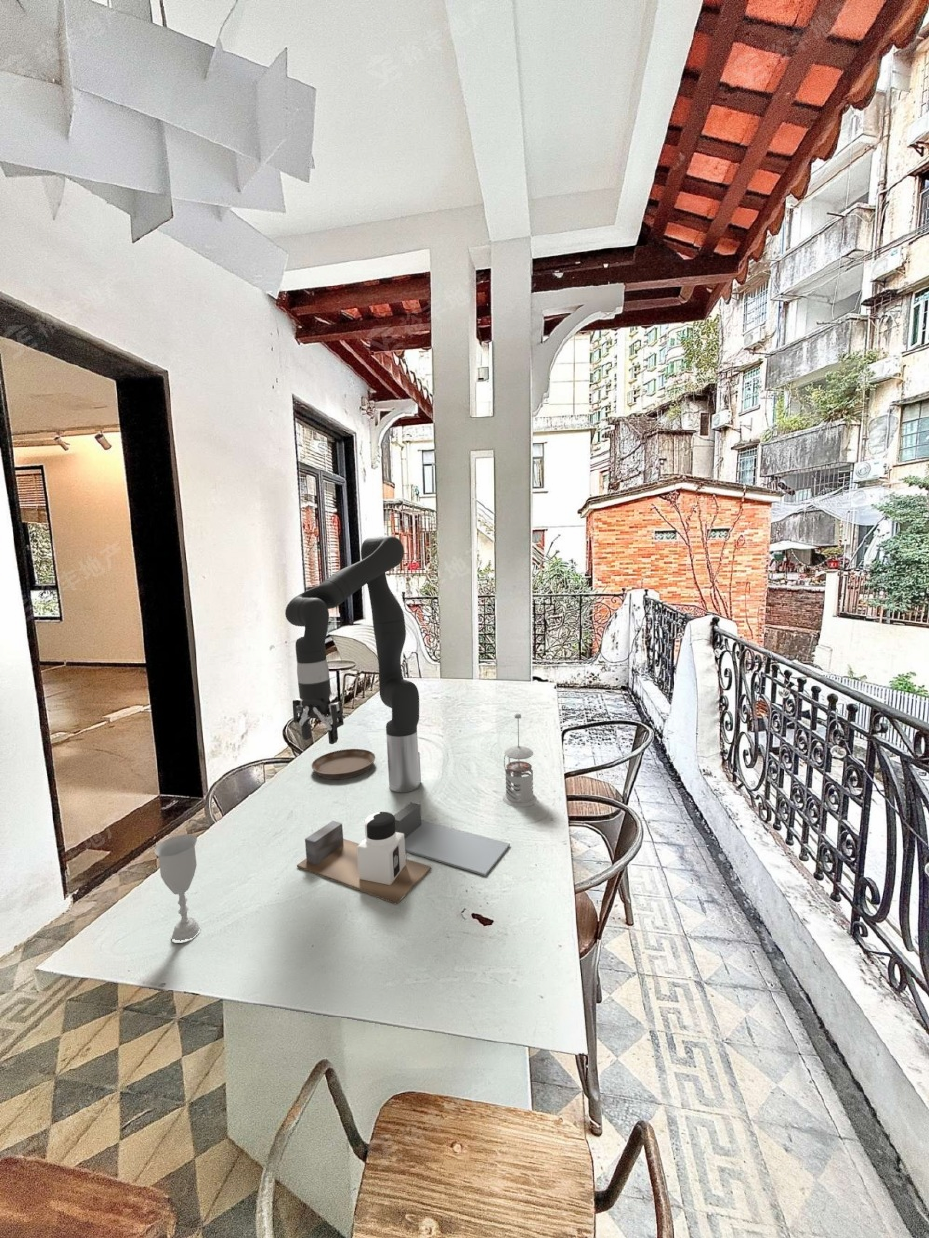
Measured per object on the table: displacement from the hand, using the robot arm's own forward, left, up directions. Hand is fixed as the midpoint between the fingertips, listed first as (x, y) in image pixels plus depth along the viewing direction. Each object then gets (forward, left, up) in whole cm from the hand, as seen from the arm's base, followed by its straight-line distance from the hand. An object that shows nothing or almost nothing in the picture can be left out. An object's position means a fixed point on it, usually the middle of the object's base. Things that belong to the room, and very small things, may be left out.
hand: (320, 740), depth 129 cm
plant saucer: (-32, -23, -25) cm, 47 cm away
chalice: (+39, +2, -24) cm, 46 cm away
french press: (-38, +37, -24) cm, 58 cm away
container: (+8, +24, -24) cm, 35 cm away
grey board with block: (-8, +31, -24) cm, 40 cm away
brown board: (+8, +19, -24) cm, 32 cm away
